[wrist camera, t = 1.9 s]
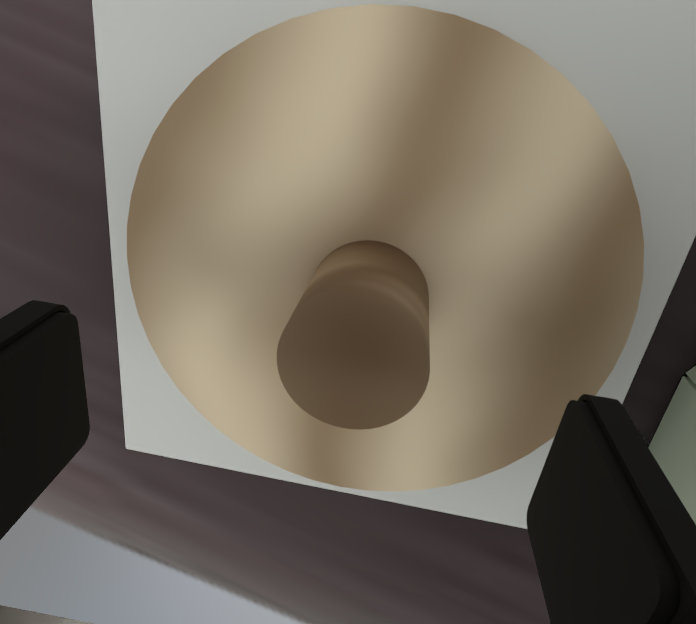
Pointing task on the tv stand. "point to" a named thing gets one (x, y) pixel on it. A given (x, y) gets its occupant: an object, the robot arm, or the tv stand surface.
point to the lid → (384, 247)
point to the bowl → (679, 442)
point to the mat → (470, 3)
